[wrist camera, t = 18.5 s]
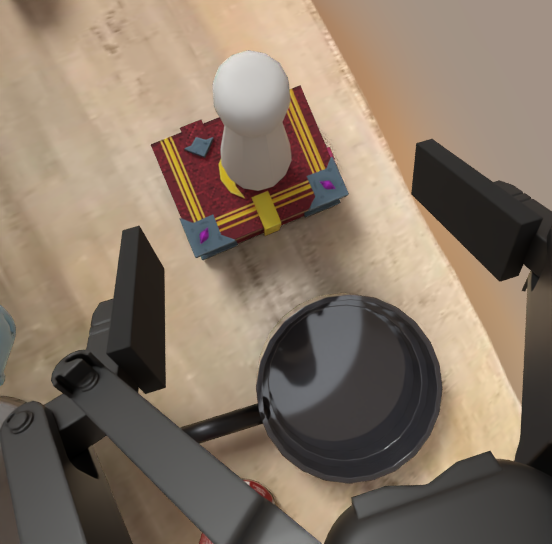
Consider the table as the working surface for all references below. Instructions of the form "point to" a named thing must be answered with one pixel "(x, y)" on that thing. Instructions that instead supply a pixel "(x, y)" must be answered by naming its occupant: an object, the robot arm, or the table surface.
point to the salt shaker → (253, 119)
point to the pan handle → (226, 423)
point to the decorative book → (236, 200)
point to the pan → (348, 387)
